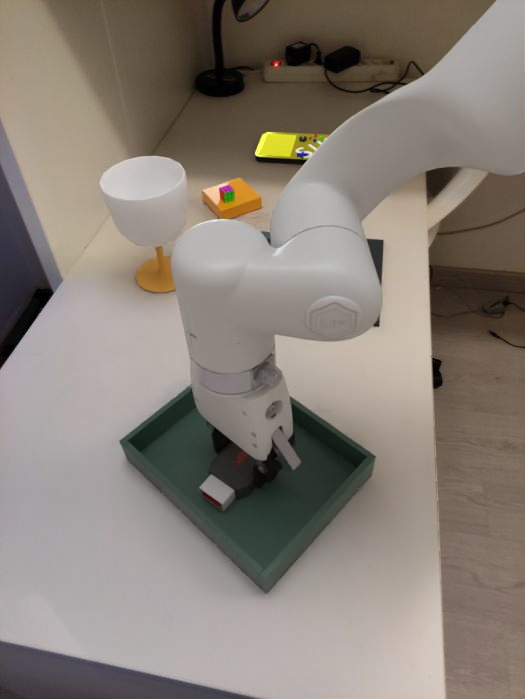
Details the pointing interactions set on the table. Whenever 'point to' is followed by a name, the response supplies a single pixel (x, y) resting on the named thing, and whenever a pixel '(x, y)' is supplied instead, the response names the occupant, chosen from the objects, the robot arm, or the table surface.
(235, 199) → the flat orange box
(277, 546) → the bin
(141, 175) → the cup
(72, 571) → the table surface
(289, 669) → the table surface
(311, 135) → the game console
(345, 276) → the robot arm
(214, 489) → the usb drive
